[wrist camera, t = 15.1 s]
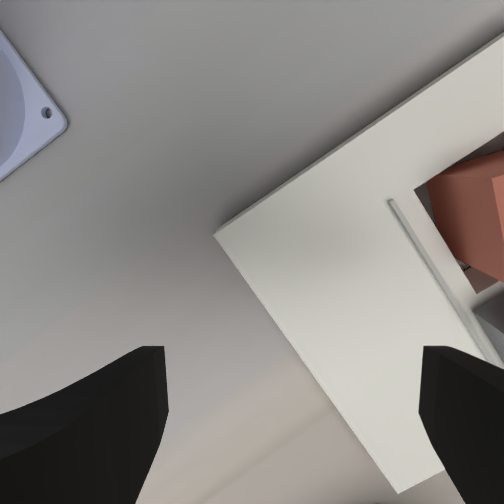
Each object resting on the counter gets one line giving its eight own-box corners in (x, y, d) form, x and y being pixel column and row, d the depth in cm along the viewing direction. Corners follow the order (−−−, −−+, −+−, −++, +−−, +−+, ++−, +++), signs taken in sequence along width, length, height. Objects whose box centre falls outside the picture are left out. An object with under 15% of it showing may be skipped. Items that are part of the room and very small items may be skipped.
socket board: (220, 226, 20) (212, 236, 18) (512, 26, 18) (557, 0, 15) (383, 458, 23) (400, 500, 20) (660, 309, 20) (723, 333, 18)
